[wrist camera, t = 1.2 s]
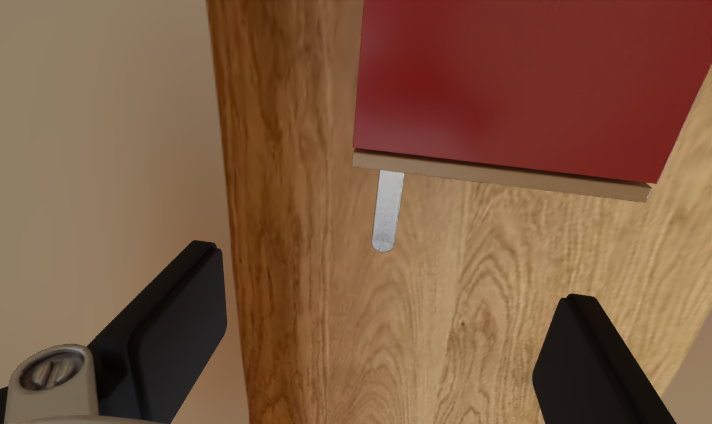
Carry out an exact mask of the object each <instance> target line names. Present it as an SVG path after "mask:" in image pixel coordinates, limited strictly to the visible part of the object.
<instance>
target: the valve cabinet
mask: <svg viewBox="0 0 712 424" xmlns="http://www.w3.org/2000/svg"><path fill="white" fill-rule="evenodd" d="M711 64H712V0H364V8H363V21H362V34H361V46H360V59H359V72H358V85H357V98H356V111H355V124H354V137H353V148H360V149H368V150H377V151H385V152H393V153H402V154H410V155H419V156H427V157H436V158H444V159H452V160H461V161H469V162H478V163H486V164H494V165H503V166H511V167H520V168H528V169H536V170H545V171H553V172H562V173H570V174H578V175H587V176H595V177H604V178H612V179H621V180H629V181H637V182H646V183H654V184H657V183H658V181H659V179H660V176H661V174H662V172H663V170H664V168H665V165H666V163H667V161H668V159H669V157H670V154H671V152H672V150H673V148H674V146H675V143H676V141H677V139H678V137H679V135H680V132H681V130H682V128H683V126H684V124H685V122H686V119H687V117H688V115H689V113H690V111H691V108H692V106H693V104H694V102H695V100H696V97H697V95H698V93H699V91H700V89H701V86H702V84H703V82H704V80H705V78H706V75H707V73H708V71H709V69H710V67H711Z"/></svg>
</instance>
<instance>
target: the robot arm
mask: <svg viewBox="0 0 712 424" xmlns="http://www.w3.org/2000/svg"><path fill="white" fill-rule="evenodd" d="M226 328H227V315H226V300H225V286H224V272H223V258H222V251H221V250H220V249H217V247H216V244H215V243H212V242H205V241H197V240H194V241H192V242H191V243H190V244H189V245H188V246H187V247H186V248H185V249H184V250H183V251H182V252H181V253H180V254H179V255H178V256H177V257H176V258H175V259H174V260H173V261H172V262H171V263H170V264H169V265H168V266H167V267H166V268H165V269H164V270H163V271H162V272H161V273H160V274H159V275H158V276H157V277H156V278H155V279H154V280H153V281H152V282H151V283H150V284H149V285H148V286H147V287H146V288H145V289H144V290H143V291H142V292H141V293H140V294H139V295H138V296H137V297H136V298H135V299H134V300H133V301H131V303H129V305H127V307H126V308H124V310H122V311H121V312H120V314H118V315H117V316H116V317H115V318H114V320H112V321H111V322H110V323H109V324H108V325H107V326H106V327H105V329H103V330H102V331H101V332H100V333H99V334H98V335H97V336H96V338H95V339H94V340H93V341H92V342H91V343H90V344H89V345H88V346H87V347H85V346H82V345H78V344H63V345H58V346H53V347H50V348H47V349H45V350H42V351H40V352H38V353H36V354H34V355H32V356H30V357H29V358H27V360H25V361H24V362H23V363H21V364H20V365H19V366H18V367H17V368H16V370H15V371H14V372H13V373H12V376H11V378H10V381H9V386H8V387H5V388H2V389H0V424H170V423H171V422H172V420H173V418H174V417H175V415H176V413H177V412H178V410H179V409H180V407H181V405H182V404H183V402H184V400H185V399H186V397H187V395H188V394H189V392H190V391H191V389H192V387H193V385H194V384H195V382H196V381H197V379H198V377H199V376H200V374H201V372H202V371H203V369H204V367H205V366H206V364H207V362H208V361H209V359H210V358H211V356H212V354H213V353H214V351H215V349H216V347H217V346H218V344H219V343H220V341H221V339H222V338H223V336H224V334H225V331H226ZM532 380H533V386H534V389H535V393H536V396H537V399H538V402H539V405H540V408H541V411H542V415H543V418H544V421H545V424H676V422H675V421H674V419H673V417H672V416H671V414H670V413H669V411H668V410H667V408H666V407H665V405H664V404H663V402H662V400H661V399H660V397H659V396H658V394H657V392H656V391H655V389H654V388H653V386H652V385H651V383H650V382H649V380H648V378H647V377H646V375H645V374H644V372H643V371H642V369H641V368H640V366H639V364H638V363H637V361H636V360H635V358H634V357H633V355H632V354H631V352H630V350H629V349H628V347H627V346H626V344H625V343H624V341H623V340H622V338H621V336H620V335H619V333H618V332H617V330H616V329H615V327H614V325H613V324H612V322H611V321H610V319H609V318H608V316H607V315H606V313H605V311H604V310H603V308H602V307H601V305H600V304H599V302H598V301H597V299H596V298H595V297H592V296H585V295H578V294H569V295H568V296H567V298H561V299H560V301H559V303H558V305H557V308H556V311H555V314H554V316H553V319H552V322H551V324H550V327H549V330H548V333H547V335H546V338H545V341H544V343H543V346H542V349H541V352H540V354H539V357H538V360H537V362H536V365H535V368H534V371H533V376H532Z"/></svg>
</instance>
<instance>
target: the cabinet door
mask: <svg viewBox="0 0 712 424" xmlns="http://www.w3.org/2000/svg"><path fill="white" fill-rule="evenodd" d="M352 166H353V167H359V168H367V169H376V170H379V179H378V188H377V197H376V206H375V215H374V224H373V233H372V246H373V247H374V248H375V249H376V250H377V251H379V252H388V251H390V250H391V249H392V248H393V247H394V244H395V238H396V231H397V224H398V217H399V210H400V203H401V196H402V189H403V182H404V175H405V173H408V174H416V175H424V176H433V177H441V178H449V179H457V180H465V181H473V182H481V183H490V184H498V185H506V186H514V187H522V188H530V189H538V190H547V191H555V192H563V193H571V194H579V195H587V196H595V197H603V198H612V199H620V200H628V201H636V202H646V201H647V199H648V197H649V195H650V192H651V190H652V188H651V187H650V186H649V185H648V184H646V183H645V182H637V181H629V180H621V179H612V178H604V177H595V176H587V175H578V174H570V173H562V172H553V171H545V170H536V169H528V168H520V167H511V166H503V165H494V164H486V163H478V162H469V161H461V160H452V159H444V158H436V157H427V156H419V155H410V154H402V153H393V152H385V151H377V150H368V149H360V148H355V149H354V151H353V156H352Z"/></svg>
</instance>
